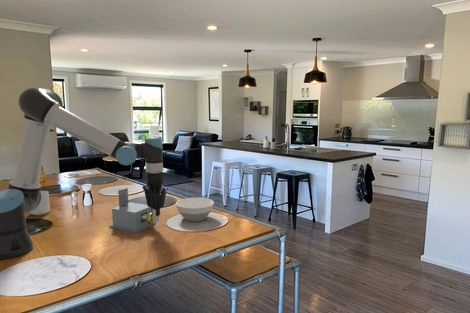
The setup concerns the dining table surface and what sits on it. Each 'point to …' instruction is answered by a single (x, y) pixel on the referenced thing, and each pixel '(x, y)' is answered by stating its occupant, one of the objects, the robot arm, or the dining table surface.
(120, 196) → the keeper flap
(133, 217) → the block
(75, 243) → the dining table surface
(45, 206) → the mug
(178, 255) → the dining table surface
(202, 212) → the bowl
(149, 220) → the pin
